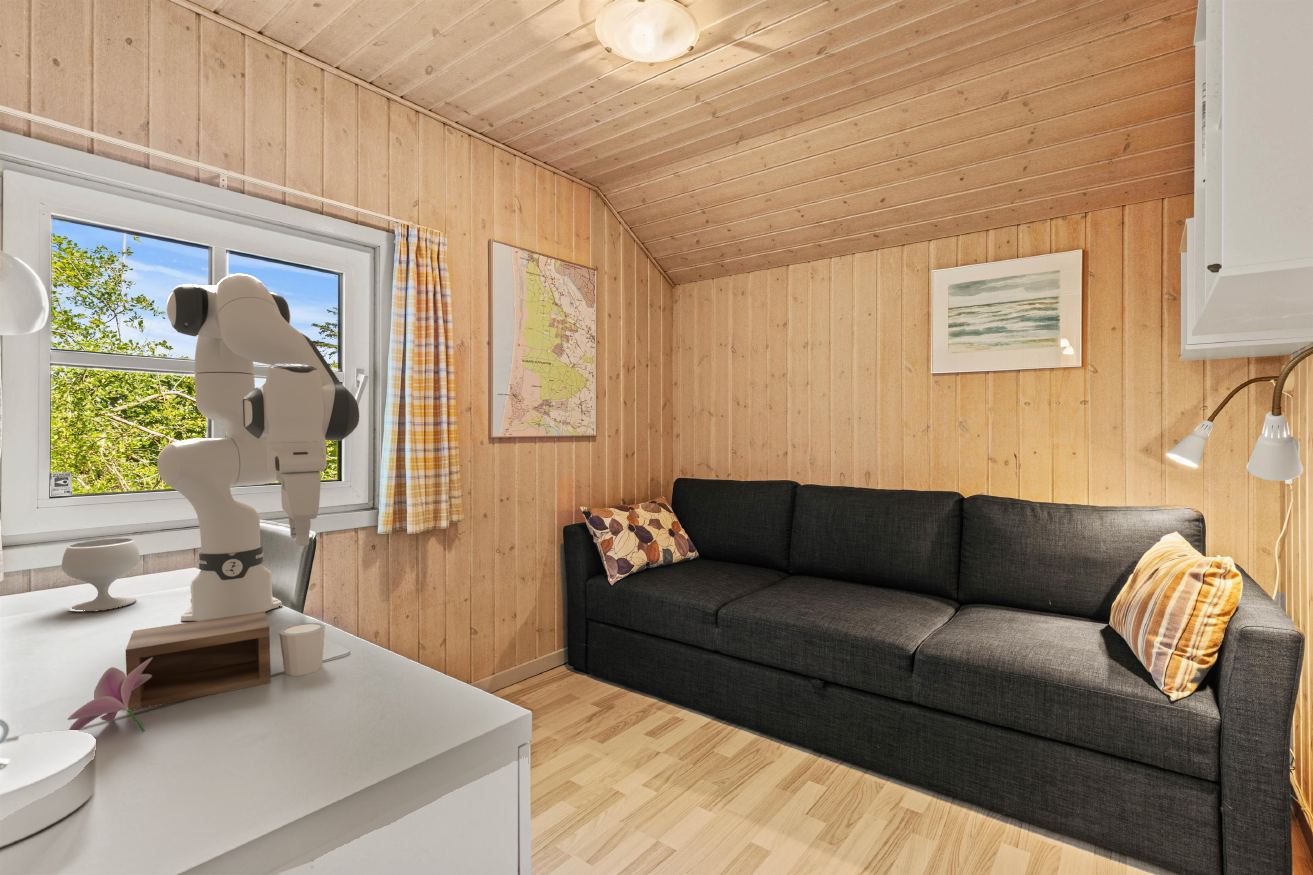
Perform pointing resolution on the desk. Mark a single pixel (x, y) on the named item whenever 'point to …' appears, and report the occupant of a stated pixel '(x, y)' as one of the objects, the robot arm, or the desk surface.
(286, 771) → the desk surface
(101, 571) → the chalice
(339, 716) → the desk surface
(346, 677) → the desk surface
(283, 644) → the cream tapered cup
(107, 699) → the lily
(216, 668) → the walnut shelf
